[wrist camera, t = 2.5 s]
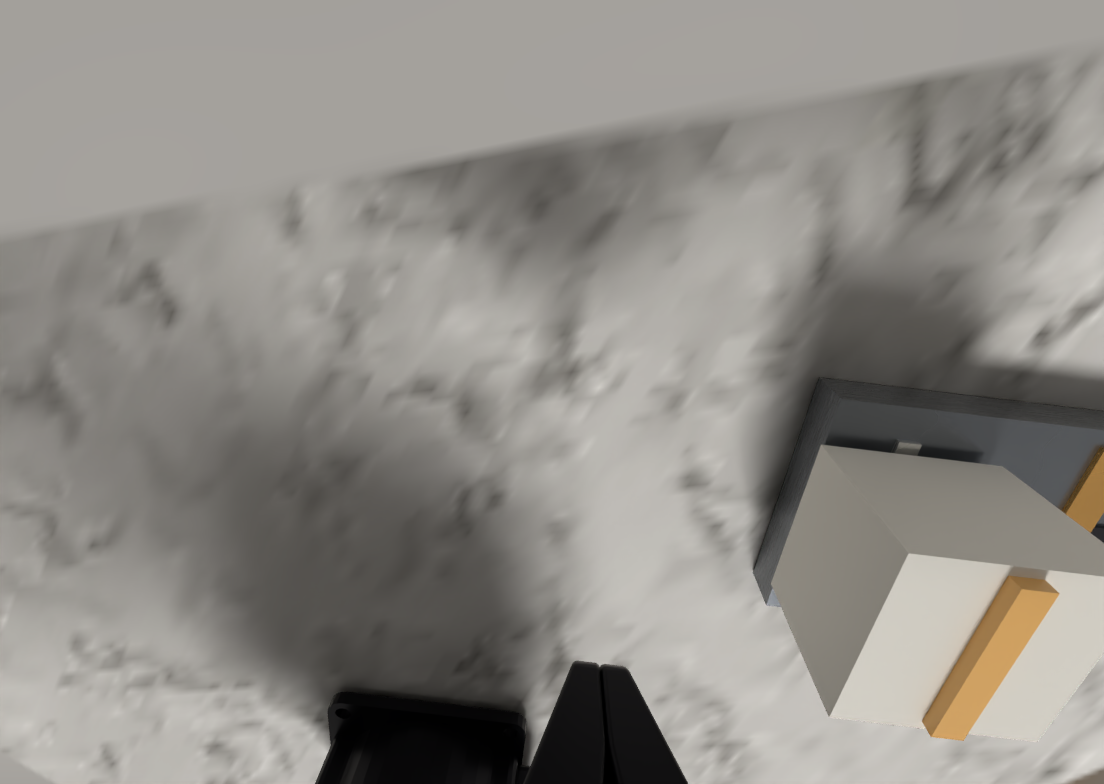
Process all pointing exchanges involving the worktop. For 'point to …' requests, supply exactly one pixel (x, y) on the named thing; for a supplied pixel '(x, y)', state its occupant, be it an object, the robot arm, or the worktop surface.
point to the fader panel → (947, 448)
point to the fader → (939, 595)
